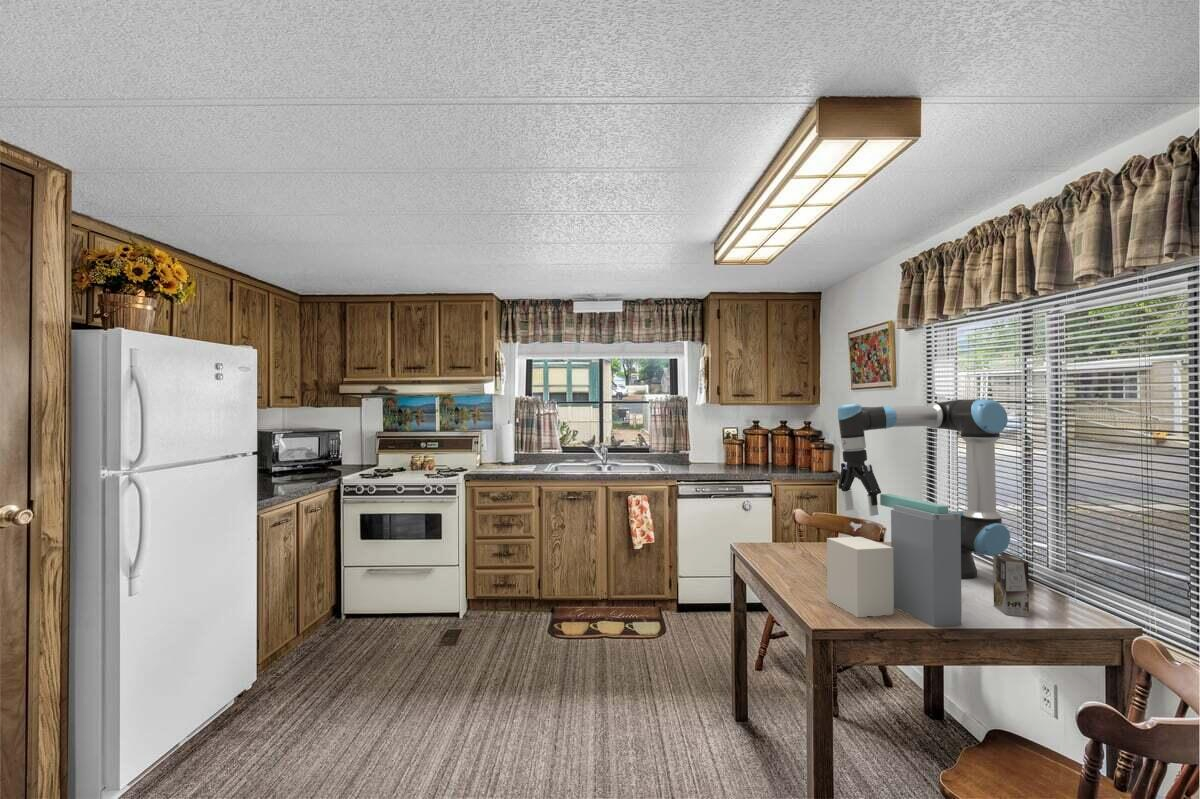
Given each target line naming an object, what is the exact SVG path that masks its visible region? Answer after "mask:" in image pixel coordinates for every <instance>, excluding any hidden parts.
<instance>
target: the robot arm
mask: <svg viewBox="0 0 1200 799" xmlns="http://www.w3.org/2000/svg"><path fill="white" fill-rule="evenodd" d="M1008 419H1009V418H1008V413H1007V411H1006V409H1005V407H1004V406H1003V405H1001V404H1000V402H998V401H996V400H993V399H988V398H987V399H986V398H978V399H954V400H947V401H941V402H940V401H939V402H930V403H928V404H927V405H904V406H903V405H901V406H900V405H899V406H898V405H895V406H892V405H891V406H890V405H889V406H888V405H887V406H886V405H885V406H884V405H882V406H862V405H861V403H851V404H850V403H849V404H842V405H841V404H840V405H839V406H838V408H837V420H838V425H839V434H840V442H841V450H843V451H841V453H842V459H843V463H840V473H839V474H840V475H839V481H838V485H837V486H838V487H837V488H838V489H839V490H841V491H842V495H843V501H844V508H845V511H851V510H852V511H854V501H853V494H852V493H853V492H852V489H851V487H852V484H853V482H854V480H855V478H857V479H858V480H860V481H861V483H862V485H863V487H864V489H865V490H866V492H867V495H866V496H867V503H868V512H869V513H868V514H869V516H870V517H874V516H879V508H878V503H879V502H878V495H879V494H882V490H881V488H880V486H879V484H878V481H877V478H876V476H875V473H874V470H873V466H872V465H871V464H865V463H866V462H867V460H868V455H867V450H866V449H865V448H867V446H866V445H867V444H866V438H865V432H867V431H871V430H874V431H875V430H881V429H882V430H883V429H884V430H886V429H889V428H897V427H898V428H901V427H902V428H904V427H907V428H909V427H929V428H930V429H933V430H934V429H935V430H936V429H938V430H939V429H940V430H950V431H955V432H960V438H961V439H962V440H963V441H964V442H965V451H966V452H965V455H966V458H965V460H966V495H967V496H966V497H967V499H966V502H967V504H966V505H967V508H966V510H965V511H959V510H958V511H957V510H955V511H953V510H952V511H949V510H948V512H951V513H959V514H961V579H967V580H968V579H975V578H977V577H978V568H977V566H976V563H975V560H974V557H973V553H977V554H979V555H982V556H988V557H993V555H1002V554H1003V552H1005V551H1006V550H1007V549H1008V548H1009V545H1010V542H1011V532H1010V530H1009V529H1008V528H1007V527H1006V526H1005V525H1004V524H1003V522H1002V515H1001V514H1000V513H998V511H997V491H996V490H997V489H996V488H997V487H996V486H997V485H996V484H997V483H996V451H995V450H996V446H995V445H996V444H995V443H996V442H997V441H998V440H999V439H1000V436H1001V435H1000V433H1001V432H1002V431H1003V430H1005V427H1007V425H1008ZM972 552H973V553H972Z"/></svg>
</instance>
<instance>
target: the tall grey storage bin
mask: <svg viewBox="0 0 1200 799" xmlns="http://www.w3.org/2000/svg"><path fill="white" fill-rule="evenodd" d="M890 532H891V533H890V541H891V542H890V544H891V545H890V547H893V573H894V607H895V608H894V609H896V608H897V609H896V610H898V609H900V610H902V611H904V612H905V613H904V612H903V613H904V614H906V613H908V614H910V615H912V616H914V617H913V618H915V617H916V618H915V619H917V618H918V619H917V620H919V619H920V620H919V621H921V622H923V623H925V624H927V625H929V626H931V627H933V628H936V627H937V628H940V627H948V626H949V627H950V626H962V623H963V622H962V618H963V617H962V614H963V613H962V578H961V514H959V513H951V512H948V514H934V513H929V512H925V511H921V510H917V509H912V508H908V507H904V506H900V505H894V508H893V509H890ZM900 610H899V611H900ZM902 611H901V612H902ZM908 614H907V615H908ZM910 615H909V616H910ZM912 616H911V617H912Z"/></svg>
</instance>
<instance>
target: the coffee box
mask: <svg viewBox="0 0 1200 799" xmlns="http://www.w3.org/2000/svg"><path fill="white" fill-rule="evenodd" d="M1029 577H1030V576H1029V562H1028V561H1026V560H1024V559H1022V558H1020V557H1018V556H1016V555H1012V554H1010V555H1009V554H999V555H993V556H992V581H993V583H992V584H993V585H992V586H993V587H992V588H993V607H995V608H996V609H997V610H999V611H1000V612H1001V613H1003V614H1005V615H1006V616H1017V617H1029V616H1030V613H1029V612H1030V608H1029V607H1030V600H1029V598H1030V597H1029V596H1030V595H1029V594H1030V590H1029V589H1030V588H1029V587H1030V586H1029V582H1030V581H1029Z"/></svg>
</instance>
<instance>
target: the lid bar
mask: <svg viewBox="0 0 1200 799" xmlns="http://www.w3.org/2000/svg"><path fill="white" fill-rule="evenodd" d="M879 496H880V497H879V499H880V500H879V501H880V502H879V505H880V506H883V507H887V508H891V509H894V505H900V506H904V507H908V508H912V509H917V510H921V511H925V512H929V513H934V514H948V511H949V506H948V505H943V504H939V503H934V502H929V501H925V500H919V499H915V498H910V497H905V496H901V495H896V494H892V493H886V494H885V493H880V495H879Z"/></svg>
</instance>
